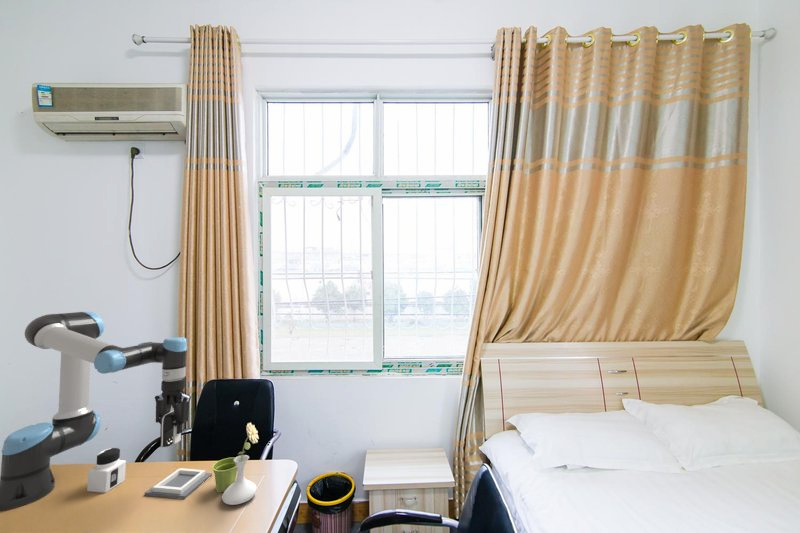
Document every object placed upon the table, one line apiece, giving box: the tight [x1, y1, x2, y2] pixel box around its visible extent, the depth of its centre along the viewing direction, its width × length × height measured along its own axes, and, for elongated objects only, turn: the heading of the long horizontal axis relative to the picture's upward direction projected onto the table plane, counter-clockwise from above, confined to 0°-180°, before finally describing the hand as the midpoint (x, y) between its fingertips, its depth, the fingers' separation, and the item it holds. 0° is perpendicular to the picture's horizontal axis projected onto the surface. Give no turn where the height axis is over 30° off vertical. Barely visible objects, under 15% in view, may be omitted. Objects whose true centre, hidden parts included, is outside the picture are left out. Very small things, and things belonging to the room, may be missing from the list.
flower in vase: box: [221, 422, 260, 506], centre depth 117 cm, size 13×11×25 cm
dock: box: [144, 467, 213, 500], centre depth 122 cm, size 16×14×2 cm
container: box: [86, 447, 127, 494], centre depth 121 cm, size 8×8×13 cm
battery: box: [159, 410, 176, 448], centre depth 121 cm, size 7×4×11 cm, turn 0°
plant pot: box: [211, 457, 237, 493], centre depth 121 cm, size 9×9×9 cm
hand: (171, 441), depth 120 cm, fingers closed on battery, 4 cm apart
